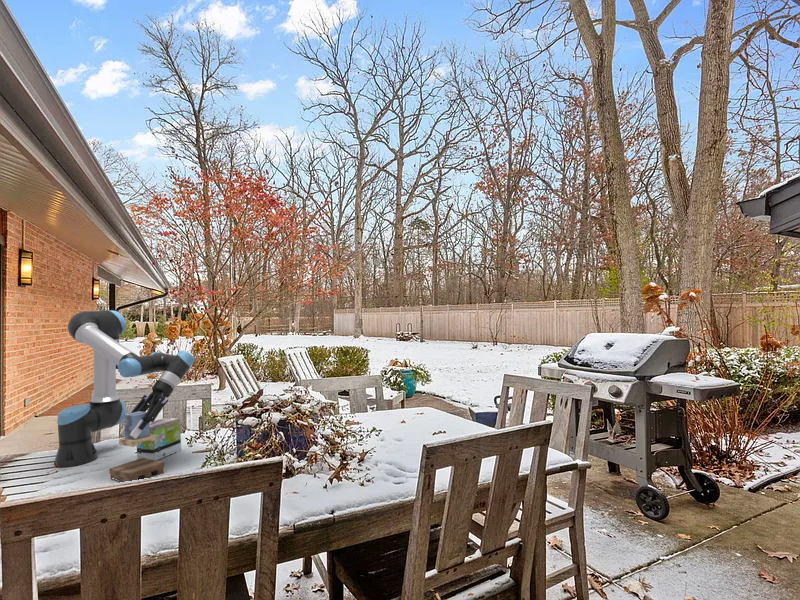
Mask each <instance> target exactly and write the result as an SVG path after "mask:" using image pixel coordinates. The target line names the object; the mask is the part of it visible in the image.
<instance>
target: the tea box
mask: <svg viewBox="0 0 800 600" xmlns="http://www.w3.org/2000/svg"><path fill="white" fill-rule="evenodd" d="M149 432H150V434H154V435H156V440H154V441H144V442H141V443H138V446H136V460H138V459H141V458H147V459H151V460H156V461H159V460H160V459H163V458H165V457H168V456H171V455H173V454H175V452H176V453H178V452H181V451H182V441H181V440H182V439H181V438H182V437H181V432H182V431H181V418H177V417H173V418H172V417H163V418H159V419H155V420H154V421H153V422H150V423H149ZM180 450H181V451H180ZM170 454H171V455H170Z"/></svg>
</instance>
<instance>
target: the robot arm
mask: <svg viewBox="0 0 800 600" xmlns="http://www.w3.org/2000/svg"><path fill="white" fill-rule="evenodd" d="M125 330H126V320H125V318H124V316H123V315H122V314H121V313H120V312H119V311H117V310H111V309H109V310H108V309H105V310H89V311H88V310H86V311H85V310H84V311H79V312H77V313H75V314H74V315H73V316H72V317H71V318H70V319H69V320H68V323H67V332H68V334H69V335H70V336H71V338H72V339H74V340H75V341H77V342H78V343H80V344H85V345H87V346H88V347H90V348H91V349H92V350H93V397H92V398H91V399H90V400H89V404H88V403H81V404H78V405H71V406H69V407H66V408H63V409H62V410H60V411H59V413H58V414H57V422H56V424H57V433H58V449H57V453H56V456H55V458H54V464H55V463H57V464H58V466H55V467H56V468H69V467H74V466H75V467H76V466H80V465H84V464H87V463H90V462H92V461H95V460H97V458H98V450H97V449H96V446H95V444H94V442H93V440H92V438H93V437H92V434H93V433H95V432H98V431H102V430H105V429H110V428H113V427H115V426H118V425H120V424H121V423H122V422H124V415H126V412H127V409H126V405H125V403H124V402H123V400H122V399H120V396H119V395H117V372H118V373H119V375H120V376H121V377H123V378H134V377H138V376H143V375H147V374H148V375H149V374H153V373H158V372H162V374H161V375H160V376H159V377H158V378H157V380H156V381H155V383H154V384H153V385H152V386H151V389H152V390H151V391H152V392H151V393H149V395H146V394H144V395H142V398H141V400H140V401H139V402H138V403H137V405H136V406H135V407H134V408H133V409H132V410H131V412H130V413H134V412H139V411H141V412H147V413H146V415H145V417H143V418H142V419H143V420H144V421H143V420H140V422H139V423H138V424H137V426H136V427H135V428H134V430H133V431H132V432H131V434H130V436H132V437H133V438H135V439H136V438H137V437H138V436H139V434H140V433H141V431H142V430H143V429H144V427H145V426H146V425H147V423H150V422H153V421H155V420H157V417H158V416H159V415H160V412H161V411H162V410H163V408H164V407H165V405H167V403H168V402H169V399H167V398H170V396H171V394H173V392H174V390H175V389H176V388H177V387H178V386H179V384H180V382H181V380H182V379H183V378H184V377H185V375H186V374H187V373H188V372H189V370H190V369H191V368H192V365H193V364H194V362H195V360H196V359H195V357H194V356H193V354H192V353H190V352H188V351H186V350H180V351H179V352H177V353H176V354H168V353H165V352H160V351H159V352H158V351H157V352H156V351H155V352H152V353H150V354H149V355H142V356H140V355H138V354H136V353H135V352H134V351H131V349H129V348H127V347H126V346H124V345H123V344H121V343H120V342H118V341H120V335H122V334H123V333H124V332H125ZM116 367H117V368H116ZM116 371H117V372H116ZM119 435H121V436H122V437H123V438H125V426H124V427H123V428H122V429H121V431H120V432H119Z"/></svg>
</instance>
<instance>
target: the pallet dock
mask: <svg viewBox="0 0 800 600" xmlns="http://www.w3.org/2000/svg"><path fill="white" fill-rule="evenodd" d="M164 468H165V462H164V461H161V460H151V459H147V458H141V459H138V460H137V459H135V460H131V461H129V462H125V463H123V464H120V465H116V466H114V467H110V468H109V474H110V479H111V478H114V479H117V480H119V481H118V482H121V483H124V481H132V480H137V479H138V480H139V479H142V480H145V479H144V478H148V479H150V478H149V477H151V478H152V473H154V474H153V475H157V476H159V475H162V474H163V473H165V471H164V470H165V469H164ZM117 480H116V481H117Z"/></svg>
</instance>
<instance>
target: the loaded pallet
mask: <svg viewBox="0 0 800 600" xmlns="http://www.w3.org/2000/svg"><path fill="white" fill-rule="evenodd" d="M146 413H147V411H145V412H141V411H139V412H134V413H131V412H130V413H127V414H125V415H124V419H123V422H124V427H125V437H121V438H118V444H119V445H121V446H127V447H130V448H131V447H133V448H134V447H137V446H138V443H141V442H144V441H154V440H156V435H154V434H150V432H149V423H147V425H146V426H145V427H144V429H143V430H142V431H141V433H140V434H139V436H138V437H137V438H136V439H135V438H133V437H132V436H130V434H131V432H132V431H133V430H134V428H135V427H136V426H137V424H138V423H139V422H140V420H143V419H142V418H143V417H145V415H146ZM143 421H144V420H143Z"/></svg>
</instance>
